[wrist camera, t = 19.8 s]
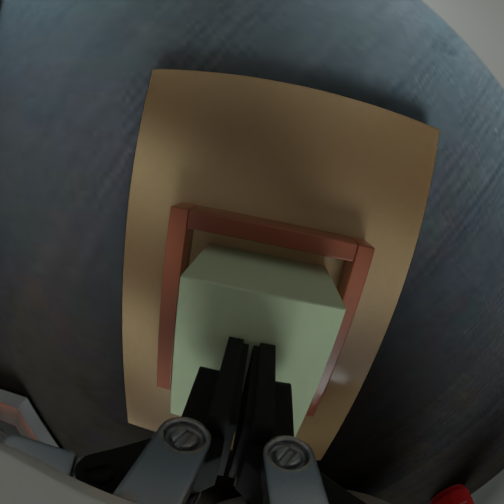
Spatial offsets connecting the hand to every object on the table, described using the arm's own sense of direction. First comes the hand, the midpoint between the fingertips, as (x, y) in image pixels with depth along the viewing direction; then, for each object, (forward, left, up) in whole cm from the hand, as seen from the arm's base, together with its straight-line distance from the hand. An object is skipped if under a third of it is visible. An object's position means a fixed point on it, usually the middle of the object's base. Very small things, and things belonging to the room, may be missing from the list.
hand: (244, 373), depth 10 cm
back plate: (0, 0, -6) cm, 6 cm away
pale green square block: (0, 0, -4) cm, 5 cm away
